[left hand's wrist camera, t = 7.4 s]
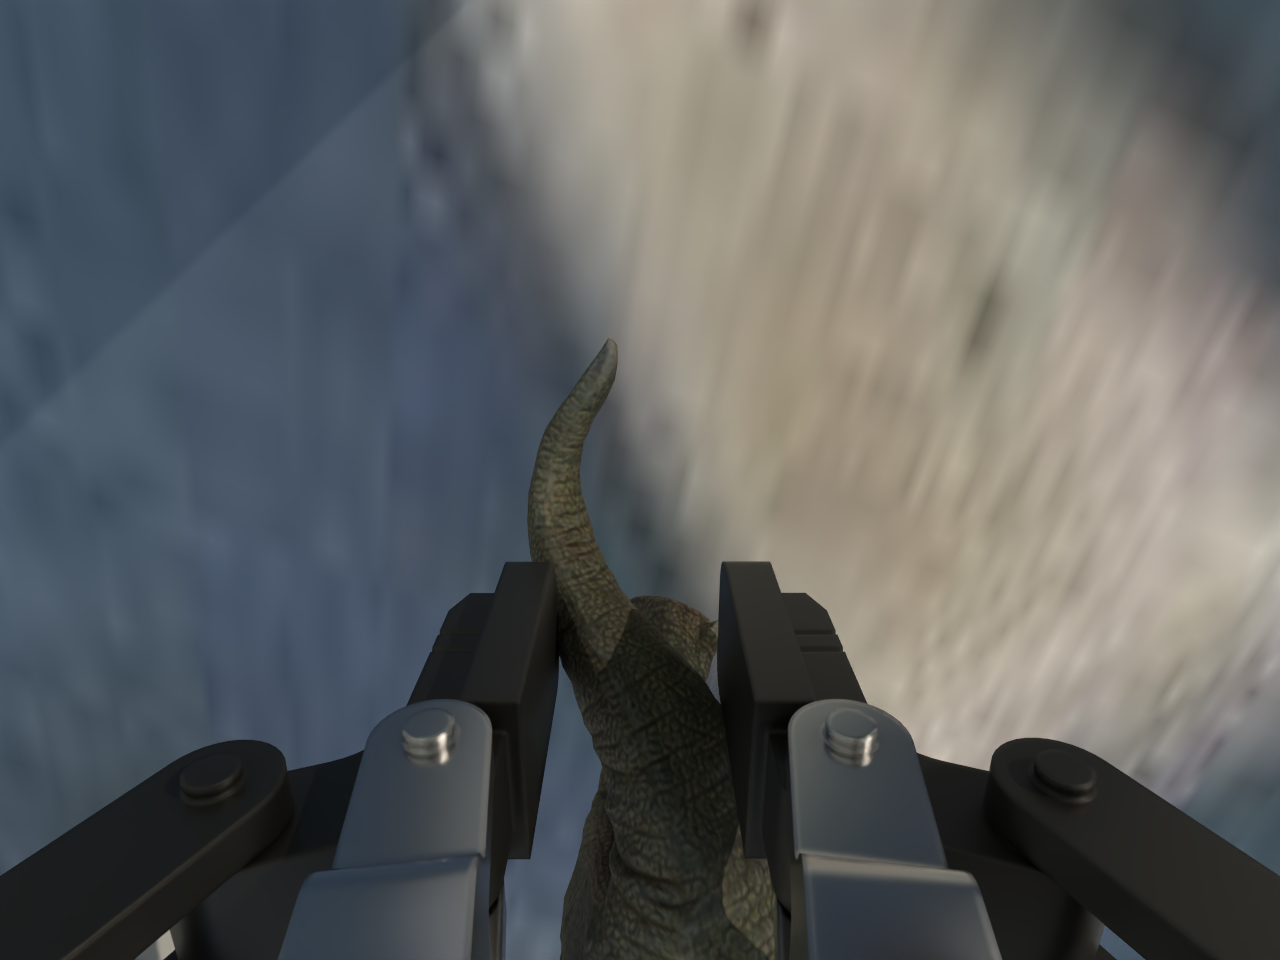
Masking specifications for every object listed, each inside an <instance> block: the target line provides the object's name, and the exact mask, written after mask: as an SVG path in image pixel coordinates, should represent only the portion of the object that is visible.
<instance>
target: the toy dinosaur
mask: <svg viewBox="0 0 1280 960" xmlns="http://www.w3.org/2000/svg"><path fill="white" fill-rule="evenodd" d="M616 369H617V345H616V343H615V342H614V341H613V340H612V339H610V338H608V340H607V341H606V343H605V345H604V346H603V348H602V349H601V351H600V352H599V354H598V355H597V356H596V358H595V359H594V360H593V362H592V363H591V364H590V366H589V367H588V368H587V370H586V371H585V372H584V374H583V375H582V377H581V378H580V379H579V381H578V382H577V384H576V385H575V387H574V388H573V390H572V392H571V393H570V395H569V396H568V397H567V398H566V400H565V401H564V402H563V403H562V405H561V406H560V408H559V409H558V411H557V412H556V414H555V415H554V417H553V418H552V420H551V421H550V423H549V424H548V426H547V428H546V430H545V432H544V435H543V437H542V440H541V443H540V446H539V450H538V454H537V458H536V463H535V467H534V471H533V475H532V480H531V484H530V489H529V496H528V536H529V546H530V554H531V559H532V562H554V565H555V573H556V594H557V617H558V648H559V656H560V658H561V662H562V666H563V668H564V670H565V672H566V673H567V675H568V677H569V679H570V680H571V682H572V686H573V690H574V694H575V697H576V700H577V703H578V706H579V708H580V711H581V713H582V717H583V721H584V724H585V726H586V728H587V729H588V731H589V732H590V734H591V735H592V740H593V748H594V750H595V752H596V753H597V755H598V757H599V759H600V761H601V764H602V770H601V774H600V780H599V787H598V791H597V793H596V795H595V797H594V800H593V802H592V808H591V811H590V813H589V814H588V816H587V818H586V821H585V825H584V829H583V837H582V843H581V846H580V850H579V854H578V858H577V862H576V866H575V869H574V872H573V875H572V877H571V880H570V883H569V886H568V888H567V891H566V894H565V897H564V908H563V917H562V925H561V934H560V939H561V957H560V960H775V953H774V900H775V892H774V890H773V886H772V883H771V878H770V872H769V867H768V862H767V859H745V858H744V851H743V845H742V838H741V832H740V825H739V819H738V812H737V806H736V799H735V793H734V786H733V779H732V773H731V766H730V760H729V753H728V747H727V740H726V734H725V727H724V718H723V712H722V707H721V704H720V703H719V702H718V701H717V700H716V699H715V697H714V696H713V694H712V692H711V691H710V689H709V687H708V685H707V684H706V682H705V681H706V679H707V677H708V675H709V671H710V666H711V662H712V659H713V656H714V655H715V654H716V653H717V645H718V620H717V621H714V622H710V621H709V619H708V618H707V617H706V616H705V615H703V614H702V613H700V612H699V611H697V610H695V609H693V608H691V607H689V606H688V605H685V604H683V603H681V602H678V601H675V600H672V599H669V598H666V597H660V596H640V597H635V598H633V599H631V600H629V598H628V597H627V596H626V594H625V593H624V592H623V591H622V590H621V589H620V587H619V585H618V583H617V581H616V579H615V577H614V575H613V573H612V571H611V570H610V569H609V567H608V566H607V565H606V563H605V559H604V556H603V554H602V552H601V550H600V549H599V547H598V544H597V542H596V540H595V538H594V536H593V529H592V525H591V522H590V520H589V517H588V513H587V510H586V506H585V503H584V499H583V495H582V491H581V482H580V473H579V471H580V463H581V455H582V450H583V442H584V440H585V438H586V436H587V434H588V432H589V429H590V427H591V424H592V422H593V419H594V417H595V416H596V414H597V413H598V411H599V410H600V408H601V407H602V405H603V403H604V402H605V400H606V398H607V396H608V393H609V391H610V389H611V387H612V384H613V382H614V380H615V375H616Z"/></svg>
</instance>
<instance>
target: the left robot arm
mask: <svg viewBox="0 0 1280 960" xmlns="http://www.w3.org/2000/svg"><path fill="white" fill-rule="evenodd" d="M717 672H718V687H719V695H720V701H721V707H722V712H723V718H724V727H725V734H726V740H727V747H728V753H729V760H730V766H731V773H732V779H733V786H734V793H735V799H736V806H737V812H738V819H739V825H740V832H741V838H742V845H743V851H744V858H745V859H767V862H768V867H769V872H770V878H771V883H772V886H773V890H774V892H775V900H774V953H775V960H1116V959H1115V958H1114V957H1113V956H1112V955H1111V954H1110V953H1108V952H1107V951H1106V950H1105V949H1104V948H1103V947H1102V946H1101V945H1099V943H1100V939H1101V936H1102V932H1103V929H1104V925H1106V926H1107V927H1108V928H1109V929H1110V930H1111V931H1113V932H1114V933H1115V934H1116V935H1117V936H1119V937H1120V938H1121V939H1122V940H1123V941H1124V942H1126V943H1127V944H1128V945H1129V946H1130V947H1132V948H1133V949H1134V950H1135V951H1136V952H1137V953H1139V954H1140V955H1141V956H1142V957H1143V958H1144V959H1146V960H1280V876H1279V875H1277V874H1276V873H1274V872H1273V871H1271V870H1270V869H1268V868H1267V867H1265V866H1264V865H1262V864H1261V863H1259V862H1258V861H1256V860H1255V859H1253V858H1252V857H1250V856H1249V855H1247V854H1246V853H1244V852H1243V851H1241V850H1240V849H1238V848H1236V847H1235V846H1233V845H1232V844H1230V843H1229V842H1227V841H1226V840H1224V839H1223V838H1221V837H1220V836H1218V835H1217V834H1215V833H1214V832H1212V831H1211V830H1209V829H1208V828H1206V827H1205V826H1203V825H1202V824H1200V823H1199V822H1197V821H1196V820H1194V819H1193V818H1191V817H1190V816H1188V815H1187V814H1185V813H1183V812H1182V811H1180V810H1179V809H1177V808H1176V807H1174V806H1173V805H1171V804H1170V803H1168V802H1167V801H1165V800H1164V799H1162V798H1161V797H1159V796H1158V795H1156V794H1155V793H1153V792H1152V791H1150V790H1149V789H1147V788H1146V787H1144V786H1143V785H1141V784H1140V783H1138V782H1137V781H1135V780H1134V779H1132V778H1130V777H1129V776H1127V775H1126V774H1124V773H1123V772H1121V771H1120V770H1118V769H1117V768H1115V767H1114V766H1112V765H1111V764H1109V763H1108V762H1106V761H1105V760H1103V759H1101V758H1100V757H1098V756H1096V755H1094V754H1092V753H1090V752H1088V751H1086V750H1084V749H1081V748H1079V747H1076V746H1074V745H1071V744H1067V743H1064V742H1060V741H1056V740H1051V739H1043V738H1021V739H1015V740H1012V741H1009V742H1006V743H1004V744H1003V745H1001V746H1000V747H999V748H997V749H996V750H995V752H994V754H993V756H992V760H991V765H990V770H989V771H985V770H981V769H976V768H972V767H967V766H963V765H958V764H954V763H949V762H945V761H941V760H937V759H933V758H930V757H927V756H924V755H922V754H919V753H917V752H916V749H915V746H914V742H913V740H912V737H911V735H910V733H909V732H908V730H907V729H906V728H905V727H904V726H903V724H902V723H901V722H900V721H898V720H897V719H896V718H894V717H893V716H892V715H890V714H888V713H887V712H885V711H883V710H881V709H879V708H877V707H875V706H872V705H869V704H867V702H866V700H865V697H864V695H863V693H862V690H861V688H860V686H859V683H858V681H857V679H856V677H855V674H854V672H853V670H852V667H851V665H850V663H849V660H848V658H847V656H846V654H845V652H843V647H842V644H841V642H840V640H839V637H838V635H836V633H835V628H834V626H833V624H832V621H831V619H830V617H829V615H828V612H827V610H826V609H824V608H823V607H822V606H821V605H819V604H818V603H817V602H816V601H815V600H813V599H812V598H811V597H810V596H808V595H807V594H806V593H781V591H780V588H779V586H778V583H777V580H776V577H775V574H774V571H773V568H772V565H771V563H770V562H722V565H721V573H720V595H719V620H718V645H717ZM558 676H559V648H558V617H557V594H556V573H555V565H554V562H506V563H505V565H504V567H503V570H502V573H501V576H500V579H499V582H498V584H497V587H496V590H495V593H470V594H469V595H468V596H466V597H465V598H464V599H463V600H461V601H460V602H459V603H458V604H456V605H455V606H454V607H453V608H452V609H450V610H449V611H448V614H447V616H446V618H445V620H444V623H443V625H442V627H441V629H440V635H438V636H437V638H436V641H435V643H434V645H433V647H432V652H430V654H429V656H428V659H427V661H426V663H425V665H424V668H423V670H422V672H421V674H420V677H419V679H418V681H417V683H416V686H415V688H414V690H413V692H412V695H411V697H410V699H409V701H408V704H407V706H405V707H403V708H401V709H399V710H397V711H395V712H393V713H392V714H390V715H388V716H387V717H386V718H384V719H383V720H382V721H380V722H379V723H378V724H377V726H376V727H375V728H374V729H373V730H372V732H371V733H370V735H369V737H368V739H367V742H366V745H365V749H364V750H363V751H361V752H358V753H356V754H354V755H351V756H348V757H346V758H343V759H339V760H335V761H332V762H327V763H323V764H318V765H314V766H309V767H305V768H300V769H296V770H291V771H287V766H286V761H285V757H284V756H283V754H282V752H281V751H280V750H278V749H277V748H276V747H274V746H273V745H271V744H268V743H265V742H262V741H255V740H234V741H227V742H222V743H217V744H213V745H210V746H206V747H203V748H201V749H198V750H196V751H193V752H191V753H189V754H187V755H185V756H183V757H181V758H179V759H177V760H176V761H174V762H172V763H171V764H169V765H168V766H166V767H165V768H163V769H162V770H160V771H159V772H157V773H156V774H154V775H153V776H151V777H149V778H148V779H146V780H145V781H143V782H142V783H140V784H139V785H137V786H136V787H134V788H133V789H131V790H130V791H128V792H127V793H125V794H124V795H122V796H121V797H119V798H118V799H116V800H115V801H113V802H112V803H110V804H109V805H107V806H106V807H104V808H103V809H101V810H100V811H98V812H96V813H95V814H93V815H92V816H90V817H89V818H87V819H86V820H84V821H83V822H81V823H80V824H78V825H77V826H75V827H74V828H72V829H71V830H69V831H68V832H66V833H65V834H63V835H62V836H60V837H59V838H57V839H56V840H54V841H53V842H51V843H50V844H48V845H47V846H45V847H43V848H42V849H40V850H39V851H37V852H36V853H34V854H33V855H31V856H30V857H28V858H27V859H25V860H24V861H22V862H21V863H19V864H18V865H16V866H15V867H13V868H12V869H10V870H9V871H7V872H6V873H4V874H3V875H1V876H0V960H134V959H135V958H137V957H138V956H139V955H140V954H141V953H143V952H144V951H145V950H146V949H147V948H148V947H150V946H151V945H152V944H153V943H154V942H156V941H157V940H158V939H159V938H160V937H161V936H163V935H164V934H165V933H166V932H167V931H168V930H170V933H171V937H172V940H173V944H174V947H175V950H174V951H173V952H171V953H170V954H169V955H168V956H167V957H166V958H165V959H163V960H505V952H506V900H505V888H504V875H505V870H506V865H507V859H530V857H531V851H532V845H533V838H534V832H535V826H536V820H537V813H538V807H539V801H540V795H541V789H542V782H543V776H544V770H545V764H546V758H547V751H548V745H549V739H550V733H551V727H552V720H553V714H554V708H555V702H556V695H557V688H558Z"/></svg>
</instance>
